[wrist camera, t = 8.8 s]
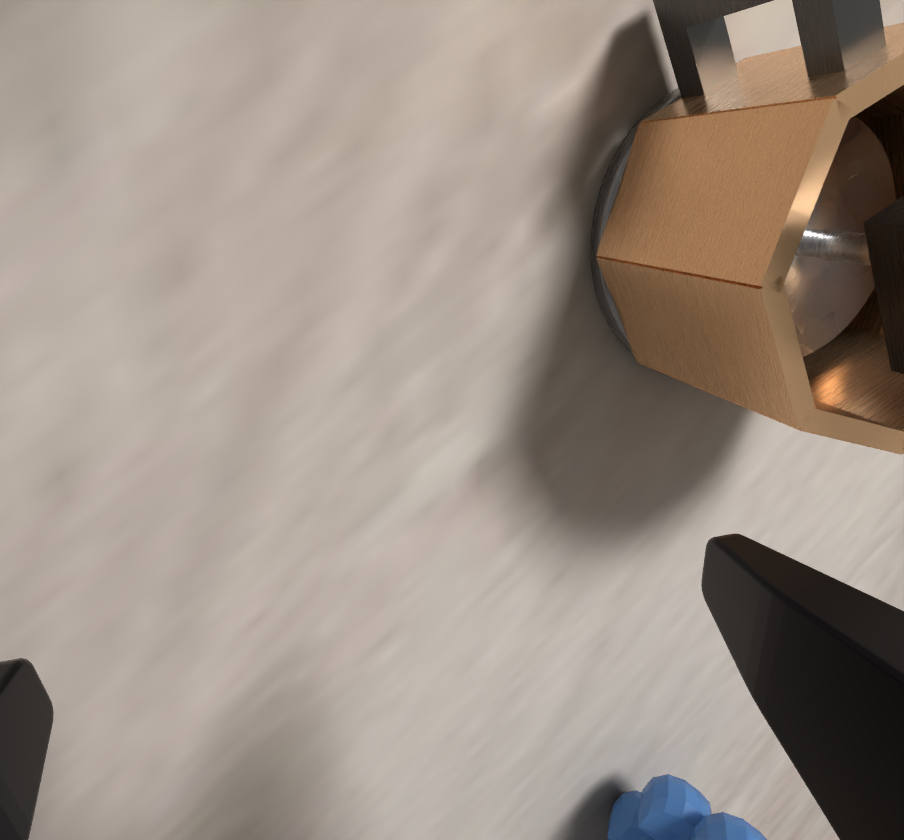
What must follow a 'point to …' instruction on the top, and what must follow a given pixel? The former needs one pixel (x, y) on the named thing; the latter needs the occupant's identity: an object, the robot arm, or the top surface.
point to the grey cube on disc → (851, 249)
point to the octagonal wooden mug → (751, 215)
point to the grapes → (673, 815)
